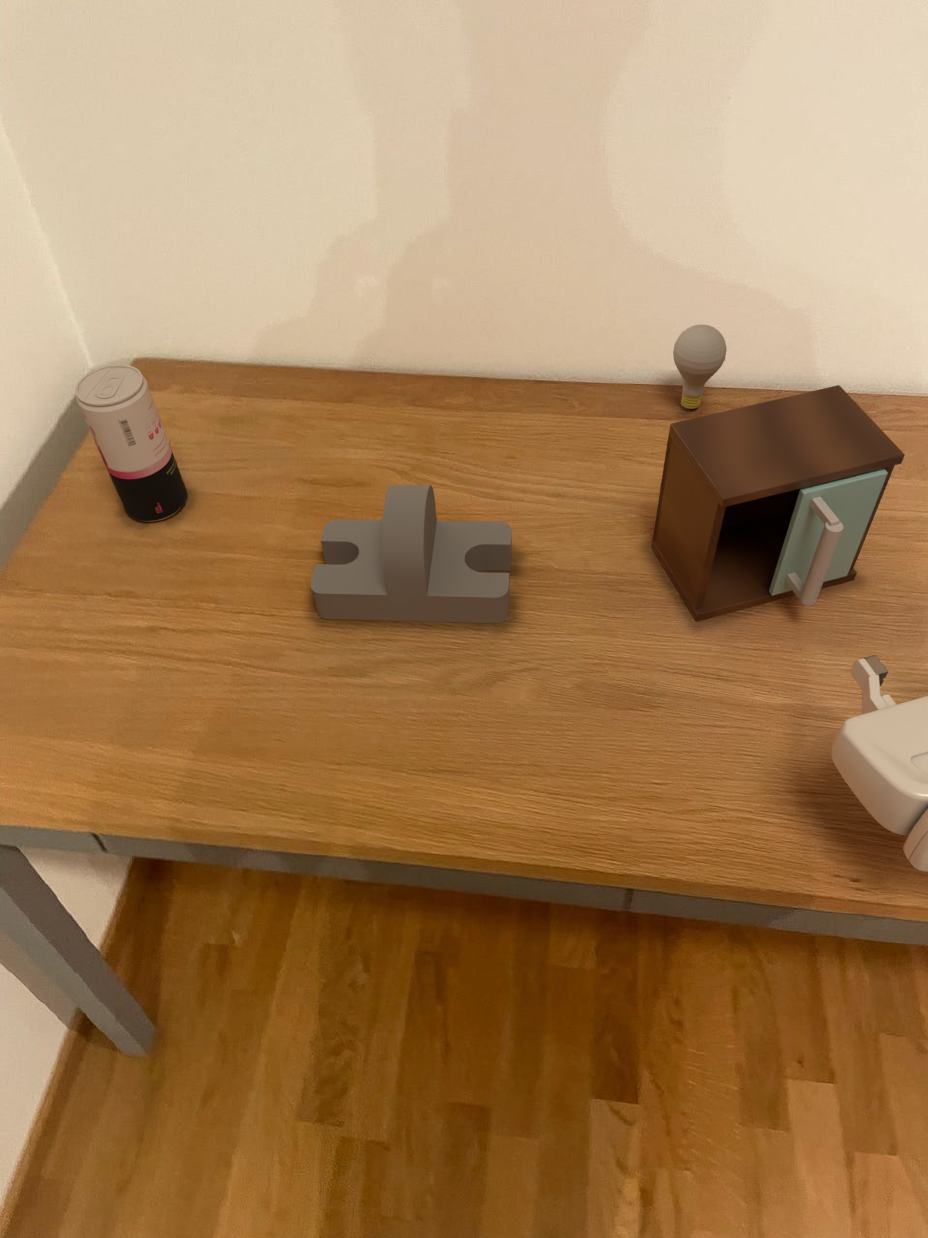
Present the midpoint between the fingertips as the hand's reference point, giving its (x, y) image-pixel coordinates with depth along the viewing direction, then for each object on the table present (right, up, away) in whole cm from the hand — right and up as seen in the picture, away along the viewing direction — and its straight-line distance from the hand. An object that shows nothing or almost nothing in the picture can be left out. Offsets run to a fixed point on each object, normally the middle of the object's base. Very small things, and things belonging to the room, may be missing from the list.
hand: (920, 645), depth 67 cm
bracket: (-38, +5, +22) cm, 44 cm away
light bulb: (-8, +26, +37) cm, 46 cm away
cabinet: (-6, +7, +21) cm, 23 cm away
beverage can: (-65, +14, +31) cm, 74 cm away
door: (-1, +4, +16) cm, 17 cm away
